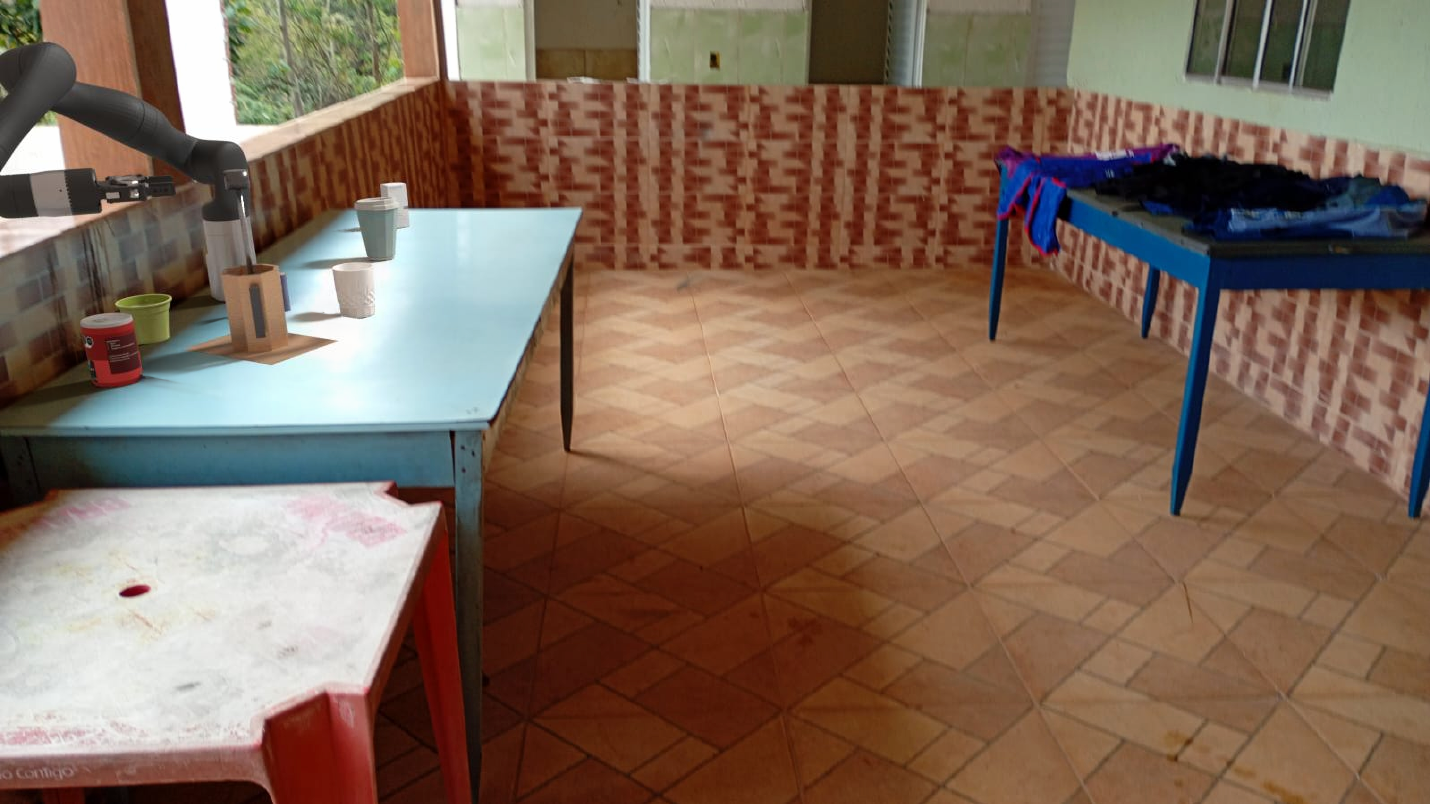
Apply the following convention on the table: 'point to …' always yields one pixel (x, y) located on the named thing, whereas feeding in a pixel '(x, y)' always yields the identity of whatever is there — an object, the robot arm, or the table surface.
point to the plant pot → (148, 316)
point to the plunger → (240, 206)
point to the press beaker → (255, 308)
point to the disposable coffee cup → (378, 226)
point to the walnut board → (294, 348)
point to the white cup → (355, 289)
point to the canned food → (111, 349)
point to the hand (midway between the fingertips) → (174, 184)
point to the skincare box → (401, 197)
